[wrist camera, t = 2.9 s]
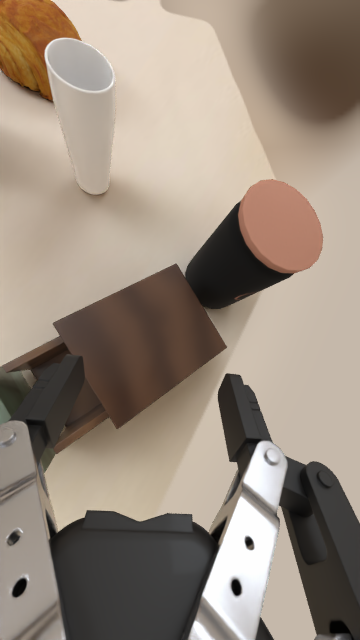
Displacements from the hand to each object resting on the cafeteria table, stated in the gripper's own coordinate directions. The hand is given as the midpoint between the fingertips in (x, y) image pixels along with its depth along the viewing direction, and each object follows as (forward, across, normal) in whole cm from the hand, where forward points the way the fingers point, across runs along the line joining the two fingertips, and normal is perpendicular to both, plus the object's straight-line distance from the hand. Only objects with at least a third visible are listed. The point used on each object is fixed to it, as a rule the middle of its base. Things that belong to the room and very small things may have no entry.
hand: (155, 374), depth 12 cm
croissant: (+47, +25, -21) cm, 57 cm away
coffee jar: (+28, -8, +5) cm, 30 cm away
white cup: (+34, +14, -6) cm, 38 cm away
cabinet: (+17, +2, +13) cm, 22 cm away
